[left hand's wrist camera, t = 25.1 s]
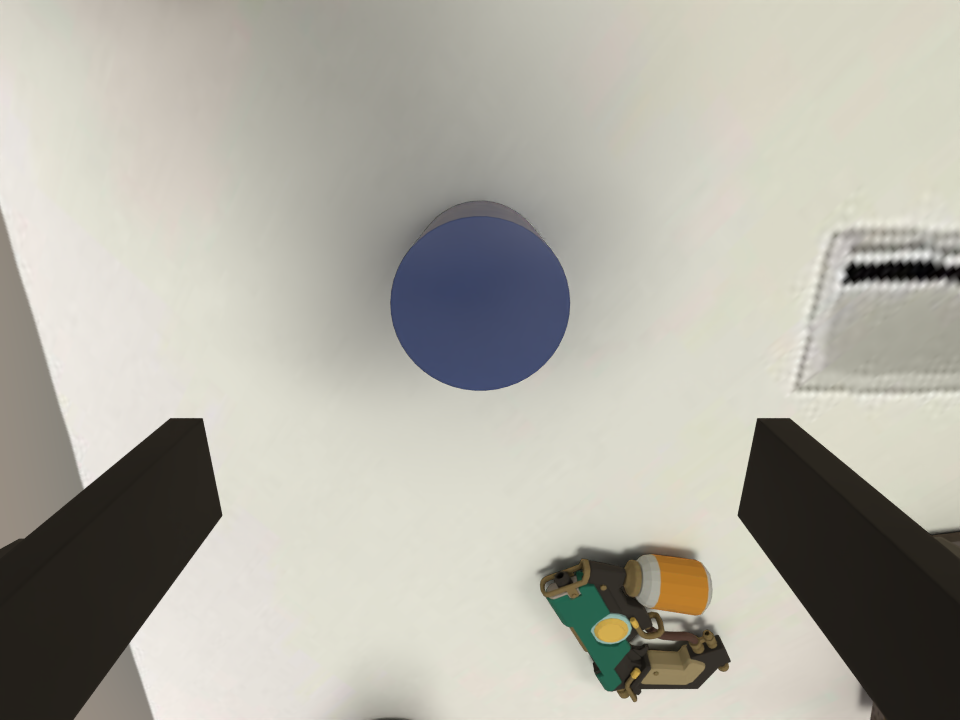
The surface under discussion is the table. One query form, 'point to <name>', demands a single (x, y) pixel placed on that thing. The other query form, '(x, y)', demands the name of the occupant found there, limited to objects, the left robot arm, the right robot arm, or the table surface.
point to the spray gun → (638, 621)
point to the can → (480, 298)
